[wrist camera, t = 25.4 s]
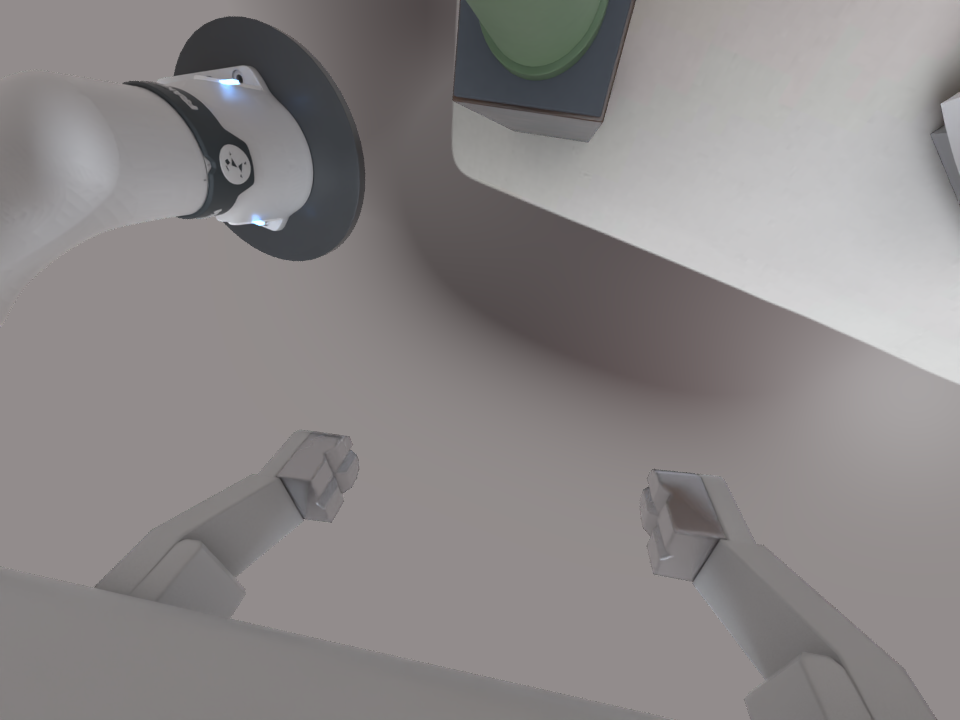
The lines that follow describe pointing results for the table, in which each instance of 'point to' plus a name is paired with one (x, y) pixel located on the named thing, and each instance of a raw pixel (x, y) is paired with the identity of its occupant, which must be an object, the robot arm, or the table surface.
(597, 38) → the mat
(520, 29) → the toy
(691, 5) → the table surface
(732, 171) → the table surface
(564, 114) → the pedestal
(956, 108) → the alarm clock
